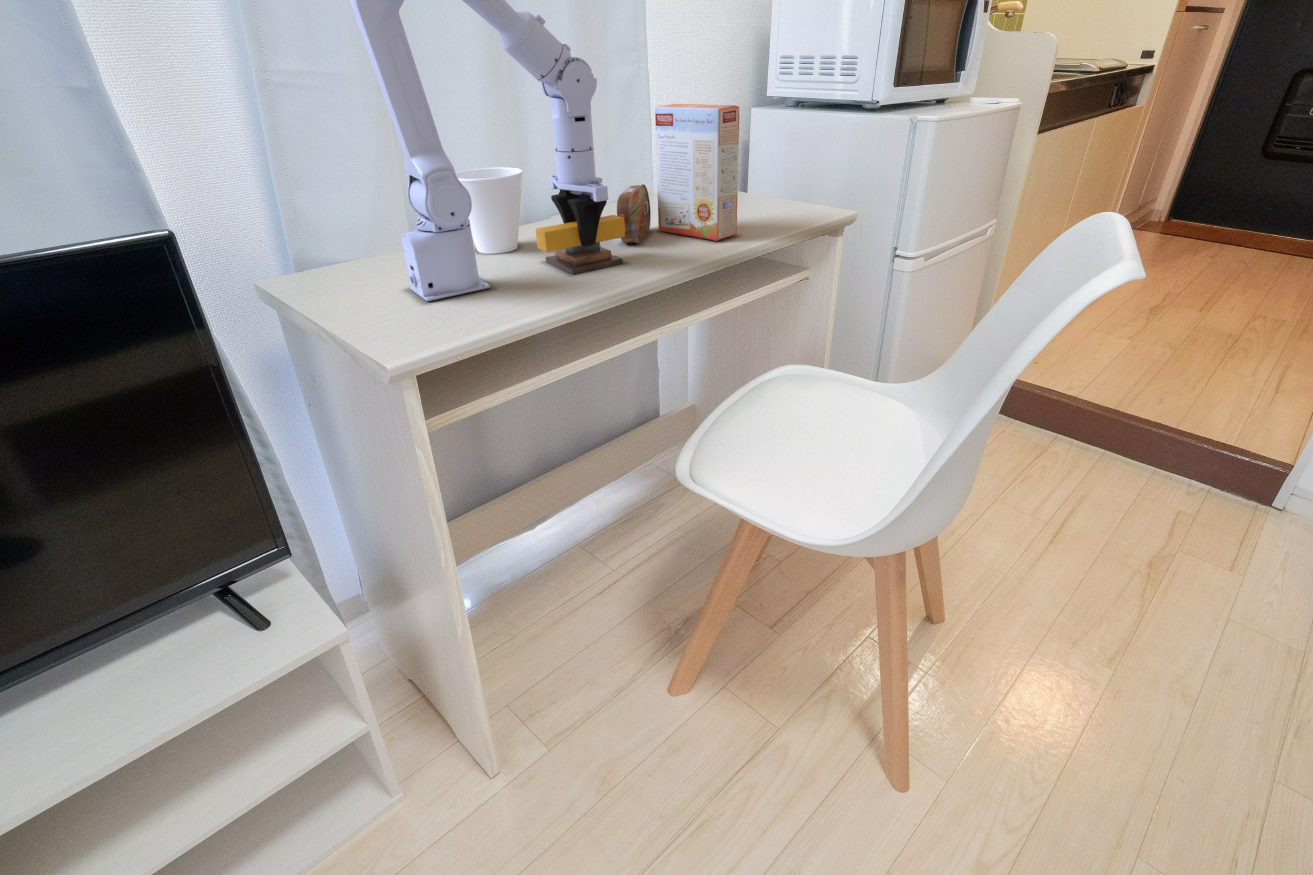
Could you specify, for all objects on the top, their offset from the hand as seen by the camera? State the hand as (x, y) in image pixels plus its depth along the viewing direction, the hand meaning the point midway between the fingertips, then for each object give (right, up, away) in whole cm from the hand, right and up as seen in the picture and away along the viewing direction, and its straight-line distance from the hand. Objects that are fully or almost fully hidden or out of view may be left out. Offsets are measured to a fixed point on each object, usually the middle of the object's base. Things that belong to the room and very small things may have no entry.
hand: (582, 242), depth 109 cm
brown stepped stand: (0, -3, +2) cm, 3 cm away
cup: (-16, +2, +11) cm, 20 cm away
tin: (+8, +5, +15) cm, 17 cm away
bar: (0, 0, 0) cm, 0 cm away
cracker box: (+19, +6, +16) cm, 25 cm away
